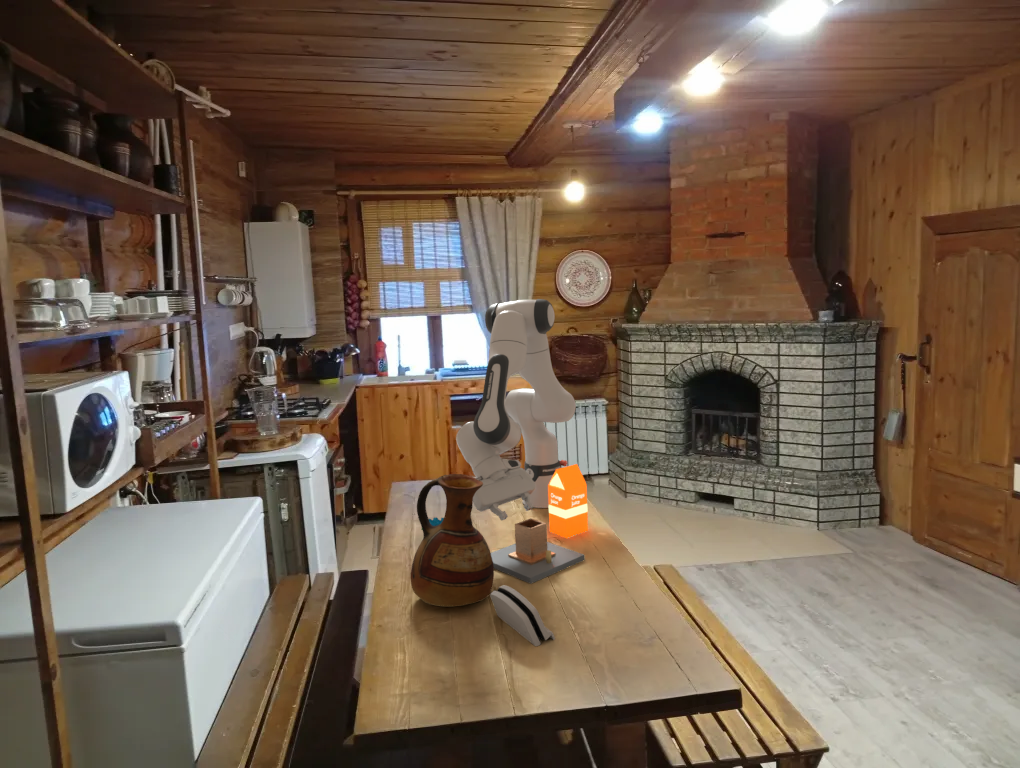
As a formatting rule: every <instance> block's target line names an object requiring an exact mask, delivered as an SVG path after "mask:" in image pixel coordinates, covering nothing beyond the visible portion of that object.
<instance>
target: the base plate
mask: <svg viewBox="0 0 1020 768" xmlns="http://www.w3.org/2000/svg"><path fill="white" fill-rule="evenodd" d="M515 551H516V542H515V543H513V544H510V545H508V546H505V547H503V548H500V549H497V550H495V551H492V552H490V553H491V557H492V560H493V567H494V570H497V571H500V572H502V573H504V574H507V575H509V576H511V577H514V578H516V579H519V580H521V581H523V582H526V583H528V584H533V583H536V582H538V581H540V580H542V579H544V578H547V577H549V576H551V575H554V574H556V573H558V571H559V572H560V570H561V571H563V570H565V569H567V567H568V568H569V566H570V567H571V566H574V565H577V564H579V563H581V562H583V560H584V561H585V560H586V558H585V557H586V556H585V554H584V553H582V552H578V551H575V550H572V549H569V548H566V547H563V546H561V545H558V544H554V543H552V542H549V541H547V551H546V559H545V560H543V561H541V562H538V563H536V564H533V565H529V564H527V563H524V562H522V561H519V560H516V559H514V558H511V557H509V556H508V554H510V553H513V552H515ZM551 552H554V553H556V555H555V556H553V557H551ZM576 563H577V564H576Z"/></svg>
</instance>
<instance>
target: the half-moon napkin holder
mask: <svg viewBox="0 0 1020 768" xmlns="http://www.w3.org/2000/svg"><path fill="white" fill-rule="evenodd" d="M497 588H498V589H497V590H492V591H491V593H490V595H489V598H490V599H491V602H492V605H493V606H494V607H493V608H494V611H495V613H496V615H497V617H498V618H500V619H501V620H502V622H504V623H506V624H507V626H510V628H512V629H513V630H514V631H516V632H517V633H518V634H519V635H520V636H522V637H523V638H524V639H526V640H527V641H528V642H529V643H531V644H532V645H533V646H535V647H538V646H540V645H541V644H542V643H541V642H542V641H547V640H548V639H549V638H550V639H552V640H553V641H555V640H556V637H555V635H554V633H553V631H552V630H550V629H549V628H548V627H546V626H545V623H544V622H543V620H542V618H541V616H540V613H539V611H538V610H537V608H536V607H535V606H534V605H533V603H531V602H530V601H529V599H527V598H526V597H525V596H524V595H523V594H521V593H520V592H519V591H518V590H516V589H514V588H512V587H511V586H509V585H506V584H505V585H504V584H503V585H501V586H498V587H497Z"/></svg>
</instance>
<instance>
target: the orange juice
mask: <svg viewBox="0 0 1020 768" xmlns="http://www.w3.org/2000/svg"><path fill="white" fill-rule="evenodd" d="M587 485H588V484H587V483H586V480H585V477H584V475H583V473H582V472H581V470H580V467H579V465H578V463H576V464H571V465H567V466H562V468H559V469H556V471H555V473H554V475H553V477H552V479H551V481H550V483H549V485H548V500H549V508H548V518H549V521H548V522H549V523H548V524H549V532H550V533H551V532H552V533H551V534H554V533H555V534H554V535H556V534H557V536H559V535H560V536H559V537H561V538H564V537H565V538H564V539H569V538H572V537H574V536H573V535H575V536H577V535H576V534H578V535H581V534H583V532H584V533H586V532H585V531H587V532H588V531H589V523H588V522H589V521H588V517H589V516H588V511H589V509H588V488H587ZM580 533H581V534H580ZM571 536H572V537H571ZM568 537H569V538H568Z"/></svg>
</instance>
